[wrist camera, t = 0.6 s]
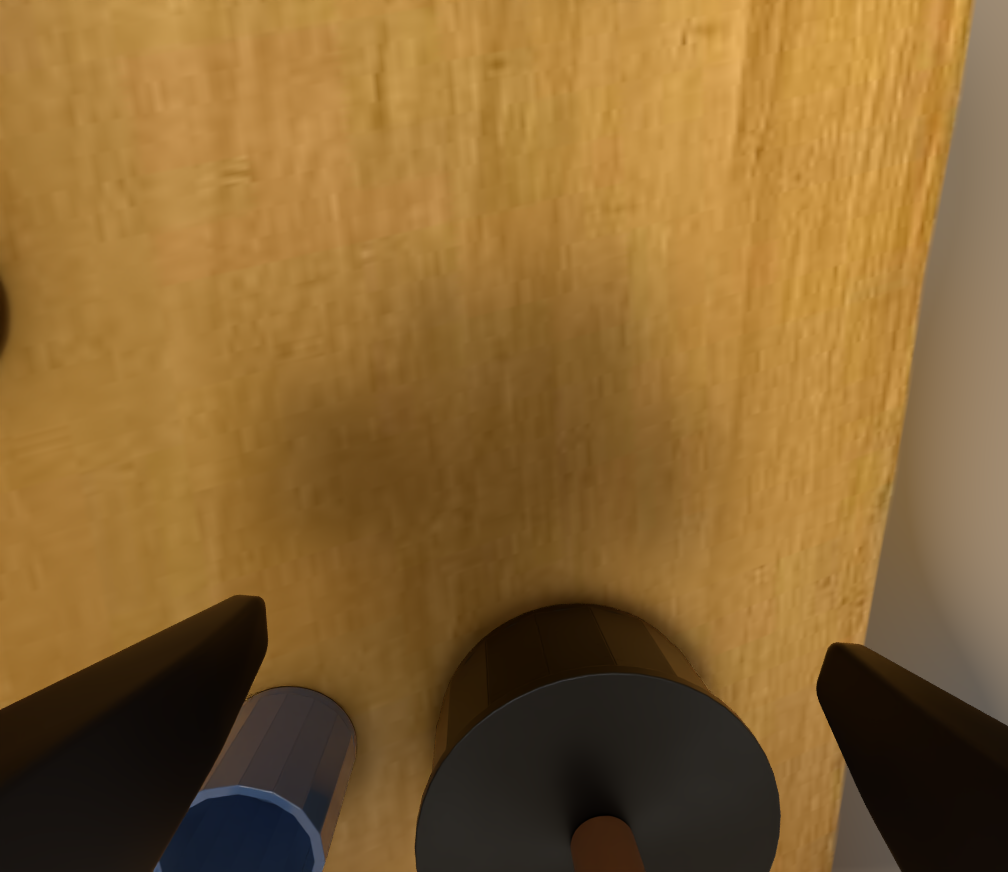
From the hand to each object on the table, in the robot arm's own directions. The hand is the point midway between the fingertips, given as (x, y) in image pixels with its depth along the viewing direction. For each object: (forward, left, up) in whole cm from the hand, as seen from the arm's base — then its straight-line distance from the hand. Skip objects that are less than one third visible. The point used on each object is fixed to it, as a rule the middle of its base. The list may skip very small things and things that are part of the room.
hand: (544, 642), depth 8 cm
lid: (-3, -13, -9) cm, 16 cm away
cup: (-15, -7, -14) cm, 22 cm away
